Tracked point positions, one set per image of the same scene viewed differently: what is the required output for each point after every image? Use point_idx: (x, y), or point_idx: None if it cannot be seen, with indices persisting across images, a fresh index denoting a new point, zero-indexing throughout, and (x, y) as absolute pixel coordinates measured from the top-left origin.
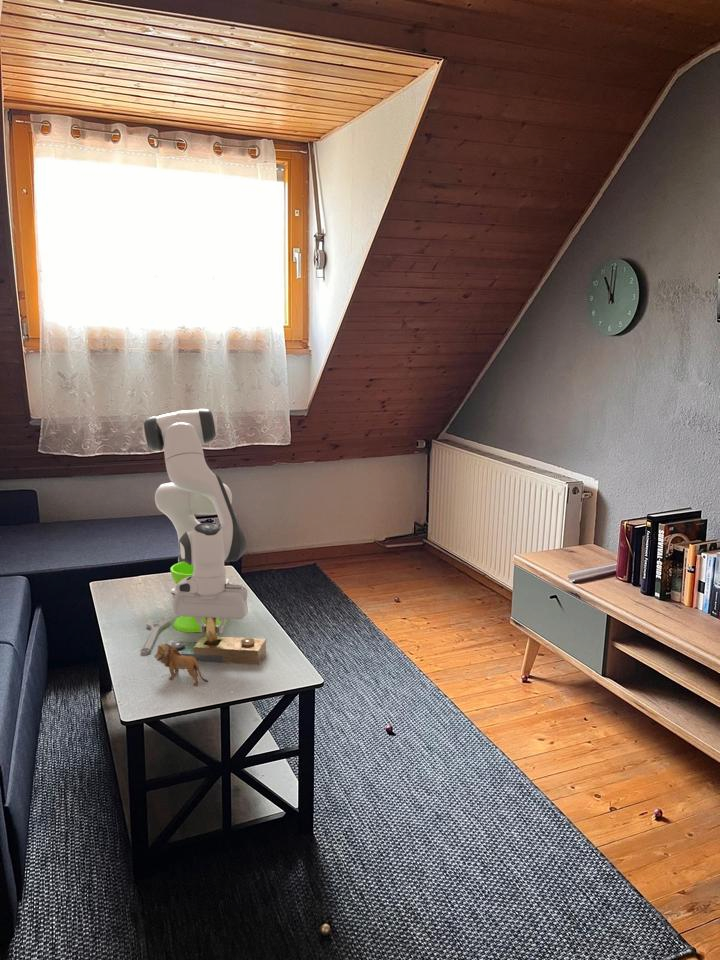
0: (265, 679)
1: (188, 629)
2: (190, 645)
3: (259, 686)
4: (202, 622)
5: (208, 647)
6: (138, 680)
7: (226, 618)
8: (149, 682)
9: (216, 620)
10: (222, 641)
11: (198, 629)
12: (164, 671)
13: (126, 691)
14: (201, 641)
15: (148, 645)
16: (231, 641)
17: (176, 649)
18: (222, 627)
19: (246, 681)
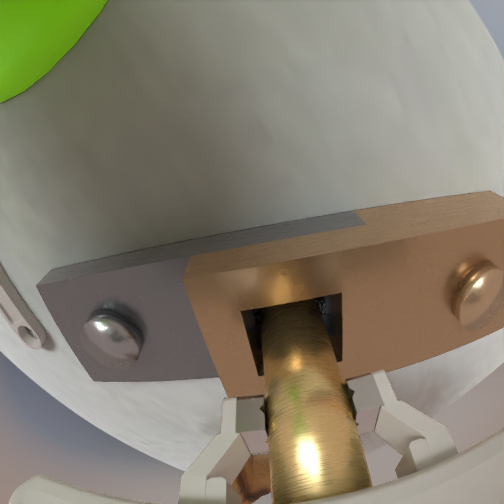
0: (482, 354)
1: (6, 89)
2: (150, 309)
3: (467, 382)
4: (233, 457)
5: None
6: (166, 446)
7: (448, 432)
8: (198, 449)
9: (365, 463)
10: (352, 314)
11: (41, 59)
12: (188, 416)
13: (184, 468)
14: (226, 350)
15: (5, 298)
16: (402, 296)
17: (247, 501)
18: (391, 392)
19: (442, 381)
